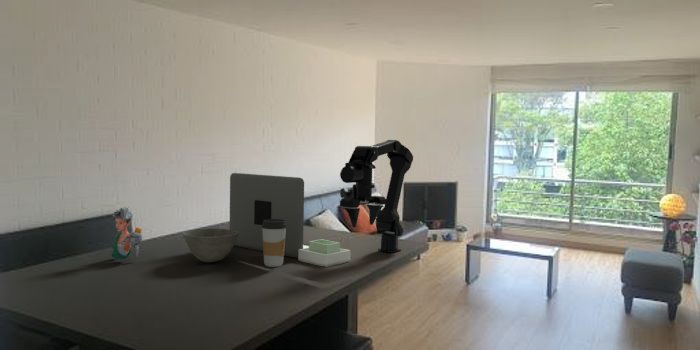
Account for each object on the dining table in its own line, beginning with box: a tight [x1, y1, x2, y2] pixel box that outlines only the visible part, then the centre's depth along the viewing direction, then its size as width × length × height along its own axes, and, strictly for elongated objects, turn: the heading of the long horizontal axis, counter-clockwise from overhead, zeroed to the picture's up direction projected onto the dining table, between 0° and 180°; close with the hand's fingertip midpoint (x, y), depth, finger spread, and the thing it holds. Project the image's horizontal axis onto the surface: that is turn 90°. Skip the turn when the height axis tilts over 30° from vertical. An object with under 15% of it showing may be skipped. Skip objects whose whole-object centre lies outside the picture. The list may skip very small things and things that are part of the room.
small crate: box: [308, 238, 341, 255], centre depth 189 cm, size 6×9×6 cm
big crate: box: [297, 247, 351, 268], centre depth 189 cm, size 12×13×4 cm
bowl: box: [182, 227, 239, 263], centre depth 185 cm, size 19×19×10 cm
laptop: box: [229, 172, 309, 259], centre depth 212 cm, size 38×29×29 cm
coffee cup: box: [262, 219, 287, 268], centre depth 181 cm, size 8×8×15 cm
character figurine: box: [111, 206, 143, 260], centre depth 185 cm, size 12×8×18 cm
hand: (362, 225), depth 190 cm, fingers open, 9 cm apart
